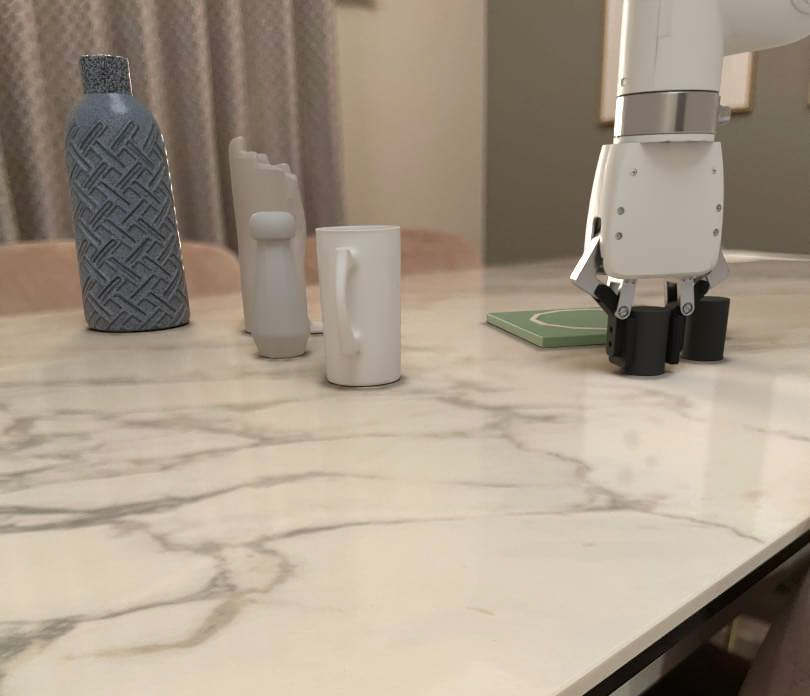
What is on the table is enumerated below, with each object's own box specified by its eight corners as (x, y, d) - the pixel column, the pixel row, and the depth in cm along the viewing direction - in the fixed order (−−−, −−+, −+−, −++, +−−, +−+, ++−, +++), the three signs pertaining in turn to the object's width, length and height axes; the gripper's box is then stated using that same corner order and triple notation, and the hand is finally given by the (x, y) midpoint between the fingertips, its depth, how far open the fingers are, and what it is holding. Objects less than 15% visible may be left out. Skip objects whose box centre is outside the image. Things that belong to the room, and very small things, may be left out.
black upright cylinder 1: (651, 366, 74) (657, 304, 72) (672, 374, 71) (678, 310, 69) (613, 368, 73) (618, 307, 71) (632, 376, 70) (638, 312, 68)
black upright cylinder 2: (709, 352, 79) (716, 295, 77) (731, 359, 76) (738, 299, 74) (674, 354, 78) (680, 297, 76) (694, 361, 75) (701, 301, 73)
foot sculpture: (363, 332, 93) (356, 132, 86) (239, 335, 94) (220, 135, 86) (368, 322, 100) (361, 135, 92) (251, 324, 100) (235, 138, 93)
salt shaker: (324, 351, 83) (316, 210, 78) (287, 361, 79) (276, 212, 74) (278, 347, 86) (267, 210, 81) (240, 356, 82) (226, 212, 77)
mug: (336, 369, 75) (329, 225, 71) (410, 371, 74) (407, 225, 69) (301, 395, 66) (290, 233, 62) (385, 398, 65) (380, 232, 60)
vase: (136, 336, 94) (95, 46, 83) (64, 328, 100) (18, 57, 89) (212, 320, 104) (184, 58, 93) (142, 315, 110) (109, 68, 99)
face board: (642, 313, 103) (643, 303, 103) (725, 336, 87) (727, 325, 86) (486, 321, 99) (486, 311, 99) (542, 347, 83) (542, 336, 83)
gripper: (734, 125, 70) (707, 350, 77) (544, 127, 66) (534, 361, 74) (791, 119, 63) (756, 365, 70) (583, 120, 60) (568, 379, 67)
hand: (643, 361), depth 72 cm, fingers closed on black upright cylinder 1, 3 cm apart
